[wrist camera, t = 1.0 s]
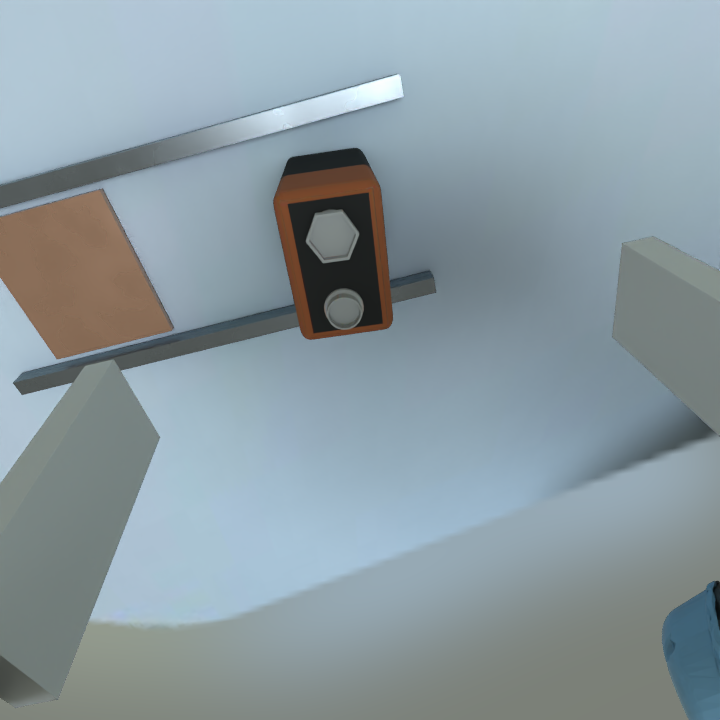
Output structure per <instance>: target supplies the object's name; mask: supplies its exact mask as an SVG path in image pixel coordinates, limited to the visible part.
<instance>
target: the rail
mask: <svg viewBox="0 0 720 720" xmlns="http://www.w3.org/2000/svg"><path fill="white" fill-rule="evenodd" d="M401 97H404V95H403V89H402V83H401V77H400V74H395V75H391V76H388V77H384V78H381V79H377V80H373V81H370V82H366V83H363V84H359V85H355V86H352V87H348V88H345V89H341V90H338V91H334V92H330V93H327V94H323V95H320V96H316V97H313V98H309V99H305V100H302V101H298V102H295V103H291V104H288V105H284V106H280V107H277V108H273V109H270V110H266V111H263V112H259V113H255V114H252V115H248V116H245V117H241V118H238V119H234V120H230V121H227V122H223V123H220V124H216V125H213V126H209V127H205V128H202V129H198V130H195V131H191V132H187V133H184V134H180V135H177V136H173V137H170V138H166V139H162V140H159V141H155V142H152V143H148V144H145V145H141V146H137V147H134V148H130V149H127V150H123V151H120V152H116V153H112V154H109V155H105V156H102V157H98V158H95V159H91V160H87V161H84V162H80V163H77V164H73V165H70V166H66V167H62V168H59V169H55V170H52V171H48V172H45V173H41V174H37V175H34V176H30V177H27V178H23V179H19V180H16V181H12V182H9V183H5V184H2V185H0V208H3V207H7V206H10V205H14V204H17V203H21V202H25V201H28V200H32V199H36V198H39V197H43V196H46V195H50V194H54V193H57V192H61V191H65V190H68V189H72V188H75V187H79V186H83V185H86V184H90V183H93V182H97V181H101V180H104V179H108V178H112V177H115V176H119V175H122V174H126V173H130V172H133V171H137V170H141V169H144V168H148V167H151V166H155V165H159V164H162V163H166V162H169V161H173V160H177V159H180V158H184V157H188V156H191V155H195V154H198V153H202V152H206V151H209V150H213V149H217V148H220V147H224V146H227V145H231V144H235V143H238V142H242V141H245V140H249V139H253V138H256V137H260V136H264V135H267V134H271V133H274V132H278V131H282V130H285V129H289V128H293V127H296V126H300V125H303V124H307V123H311V122H314V121H318V120H321V119H325V118H329V117H332V116H336V115H340V114H343V113H347V112H350V111H354V110H358V109H361V108H365V107H369V106H372V105H376V104H379V103H383V102H387V101H390V100H394V99H397V98H401ZM0 278H1V279H2V281H3V282H4V284H5V285H6V286H7V288H8V289H9V291H10V292H11V294H12V295H13V297H14V298H15V299H16V301H17V302H18V304H19V305H20V307H21V308H22V310H23V311H24V312H25V314H26V315H27V317H28V318H29V320H30V321H31V323H32V324H33V325H34V327H35V328H36V330H37V331H38V333H39V334H40V336H41V337H42V338H43V340H44V341H45V343H46V344H47V346H48V347H49V349H50V350H51V351H52V353H53V354H54V356H55V357H56V359H61V358H65V357H69V356H73V355H77V354H81V353H85V352H89V351H93V350H97V349H101V348H105V347H109V346H113V345H117V344H121V343H125V342H129V341H132V340H136V339H140V338H144V337H148V336H152V335H156V334H160V333H164V332H168V331H172V330H173V328H174V327H173V325H172V323H171V321H170V319H169V318H168V316H167V314H166V312H165V310H164V308H163V306H162V304H161V302H160V300H159V298H158V296H157V294H156V292H155V290H154V288H153V286H152V284H151V282H150V280H149V278H148V277H147V275H146V273H145V271H144V269H143V267H142V265H141V263H140V261H139V259H138V257H137V255H136V253H135V251H134V249H133V247H132V245H131V243H130V241H129V239H128V238H127V236H126V234H125V232H124V230H123V228H122V226H121V224H120V222H119V220H118V218H117V216H116V214H115V212H114V210H113V208H112V206H111V204H110V202H109V200H108V198H107V197H106V195H105V193H104V191H103V189H99V190H95V191H92V192H88V193H84V194H81V195H77V196H73V197H70V198H66V199H63V200H59V201H55V202H52V203H48V204H44V205H41V206H37V207H34V208H30V209H26V210H23V211H19V212H15V213H12V214H8V215H4V216H1V217H0ZM390 289H391V300H392V303H395V302H399V301H403V300H407V299H411V298H416V297H420V296H424V295H428V294H432V293H436V288H435V282H434V277H433V275H432V274H431V272H430V271H427V272H423V273H419V274H415V275H411V276H407V277H403V278H399V279H395V280H391V281H390ZM298 326H299V322H298V317H297V313H296V308H295V305H291V306H287V307H283V308H279V309H275V310H271V311H267V312H263V313H259V314H255V315H251V316H247V317H243V318H239V319H235V320H232V321H228V322H224V323H220V324H216V325H212V326H208V327H204V328H200V329H196V330H192V331H188V332H184V333H180V334H176V335H172V336H168V337H164V338H160V339H156V340H152V341H148V342H144V343H140V344H136V345H132V346H128V347H124V348H120V349H116V350H112V351H108V352H104V353H100V354H96V355H92V356H88V357H84V358H80V359H76V360H72V361H68V362H64V363H60V364H56V365H52V366H48V367H44V368H40V369H36V370H32V371H28V372H24V373H22V374H21V375H20V376H19V377H18V378H17V379H16V380H15V381H14V382H13V384H14V385H15V386H16V388H17V389H18V390H19V391H20V393H21V394H22V395H24V394H28V393H32V392H36V391H40V390H44V389H48V388H52V387H56V386H60V385H64V384H68V383H72V382H74V381H75V379H76V378H77V376H78V375H79V374H80V372H81V371H82V370H83V368H84V367H85V366H87V365H91V364H95V363H100V362H104V361H108V360H113V359H114V361H115V362H116V364H117V366H118V367H119V369H120V371H121V370H125V369H129V368H133V367H137V366H141V365H145V364H149V363H153V362H157V361H161V360H165V359H169V358H173V357H177V356H181V355H185V354H189V353H193V352H197V351H201V350H206V349H210V348H214V347H218V346H222V345H226V344H230V343H234V342H238V341H242V340H246V339H250V338H254V337H258V336H262V335H266V334H270V333H274V332H278V331H282V330H286V329H290V328H294V327H298Z"/></svg>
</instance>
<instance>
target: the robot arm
mask: <svg viewBox="0 0 720 720" xmlns="http://www.w3.org/2000/svg"><path fill="white" fill-rule="evenodd" d="M612 337H613V338H614V339H615V340H616V341H617V342H618V343H619V344H620V345H621V346H622V347H624V348H625V349H626V350H627V351H628V352H629V353H630V354H631V355H632V356H633V357H634V358H635V359H636V360H638V361H639V362H640V363H641V364H642V365H643V366H644V367H645V368H646V369H647V370H648V371H649V372H651V373H652V374H653V375H654V376H655V377H656V378H657V379H658V380H659V381H660V382H661V383H662V384H664V385H665V386H666V387H667V388H668V389H669V390H670V391H671V392H672V393H673V394H674V395H675V396H676V397H678V398H679V399H680V400H681V401H682V402H683V403H684V404H685V405H686V406H687V407H688V408H689V409H691V410H692V411H693V412H694V413H695V414H696V415H697V416H698V417H699V418H700V419H701V420H702V421H704V422H705V423H706V424H707V425H708V426H709V427H710V428H711V429H712V430H713V431H714V432H715V433H716V434H718V435H719V436H720V271H718V270H717V269H715V268H713V267H711V266H709V265H707V264H705V263H703V262H701V261H699V260H697V259H696V258H694V257H692V256H690V255H688V254H686V253H684V252H682V251H680V250H678V249H676V248H675V247H673V246H671V245H669V244H667V243H665V242H663V241H661V240H659V239H657V238H655V237H654V236H652V237H648V238H643V239H639V240H634V241H630V242H626V243H622V250H621V259H620V269H619V278H618V287H617V297H616V306H615V316H614V325H613V334H612ZM159 439H160V436H159V435H158V433H157V431H156V430H155V428H154V426H153V424H152V423H151V421H150V419H149V418H148V416H147V414H146V413H145V411H144V409H143V408H142V406H141V404H140V403H139V401H138V399H137V398H136V396H135V394H134V393H133V391H132V389H131V388H130V386H129V384H128V382H127V381H126V379H125V377H124V376H123V374H122V372H121V371H120V369H119V367H118V366H117V364H116V362H115V361H114V359H113V360H108V361H104V362H100V363H95V364H91V365H87V366H85V367H84V368H83V370H82V371H81V372H80V374H79V375H78V376H77V378H76V379H75V381H74V382H73V383H72V385H71V386H70V388H69V389H68V390H67V392H66V393H65V395H64V396H63V397H62V399H61V400H60V401H59V403H58V404H57V406H56V407H55V408H54V410H53V411H52V413H51V414H50V415H49V417H48V418H47V420H46V421H45V422H44V424H43V425H42V426H41V428H40V429H39V431H38V432H37V433H36V435H35V436H34V438H33V439H32V440H31V442H30V443H29V445H28V446H27V447H26V449H25V450H24V451H23V453H22V454H21V456H20V457H19V458H18V460H17V461H16V463H15V464H14V465H13V467H12V468H11V469H10V471H9V472H8V474H7V475H6V476H5V478H4V479H3V481H2V482H1V483H0V698H1V699H3V700H4V701H6V702H7V703H9V704H10V705H12V706H13V707H15V708H18V707H23V706H28V705H33V704H38V703H43V702H48V701H53V700H58V698H59V696H60V693H61V691H62V688H63V685H64V683H65V680H66V678H67V675H68V673H69V670H70V667H71V665H72V662H73V660H74V657H75V655H76V652H77V649H78V647H79V644H80V642H81V639H82V637H83V634H84V631H85V629H86V626H87V624H88V621H89V619H90V616H91V613H92V611H93V608H94V606H95V603H96V601H97V598H98V595H99V593H100V590H101V588H102V585H103V583H104V580H105V577H106V575H107V572H108V570H109V567H110V565H111V562H112V559H113V557H114V554H115V552H116V549H117V547H118V544H119V541H120V539H121V536H122V534H123V531H124V529H125V526H126V523H127V521H128V518H129V516H130V513H131V511H132V508H133V505H134V503H135V500H136V498H137V495H138V493H139V490H140V488H141V485H142V482H143V480H144V477H145V475H146V472H147V470H148V467H149V464H150V462H151V459H152V457H153V454H154V452H155V449H156V446H157V444H158V441H159ZM662 644H663V650H664V655H665V659H666V662H667V666H668V670H669V673H670V676H671V679H672V681H673V684H674V686H675V689H676V692H677V694H678V697H679V699H680V701H681V704H682V706H683V708H684V710H685V713H686V715H687V717H688V719H689V720H720V582H719V581H713V582H711V583H709V584H708V585H707V588H706V590H704V591H703V592H701V593H700V594H698V595H696V596H695V597H693V598H691V599H690V600H688V601H687V602H685V603H683V604H682V605H680V606H678V607H677V608H675V609H674V610H673V611H671V612H670V613H669V615H668V616H667V617H666V619H665V621H664V624H663V629H662Z"/></svg>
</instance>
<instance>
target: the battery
mask: <svg viewBox="0 0 720 720" xmlns="http://www.w3.org/2000/svg"><path fill="white" fill-rule="evenodd" d="M273 204H274V210H275V215H276V220H277V225H278V229H279V234H280V238H281V243H282V248H283V252H284V257H285V262H286V266H287V271H288V276H289V280H290V285H291V289H292V294H293V299H294V303H295V308H296V313H297V317H298V322H299V326H300V330H301V333H302V335H303V336H304V337H305V338H306V339H310V340H312V339H320V338H327V337H334V336H341V335H348V334H355V333H362V332H369V331H376V330H383V329H387V328H389V327H390V326H391V324H392V321H393V311H392V300H391V289H390V279H389V269H388V258H387V248H386V237H385V227H384V216H383V206H382V196H381V189H380V185H379V183H378V181H377V179H376V177H375V175H374V173H373V171H372V169H371V167H370V165H369V163H368V161H367V159H366V157H365V155H364V154H363V152H362V151H361V150H360V149H358V148H353V149H345V150H338V151H332V152H325V153H318V154H311V155H304V156H297V157H292V158H290V159H289V160H288V162H287V164H286V166H285V169H284V172H283V175H282V177H281V180H280V183H279V186H278V188H277V191H276V194H275V197H274V200H273Z"/></svg>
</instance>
